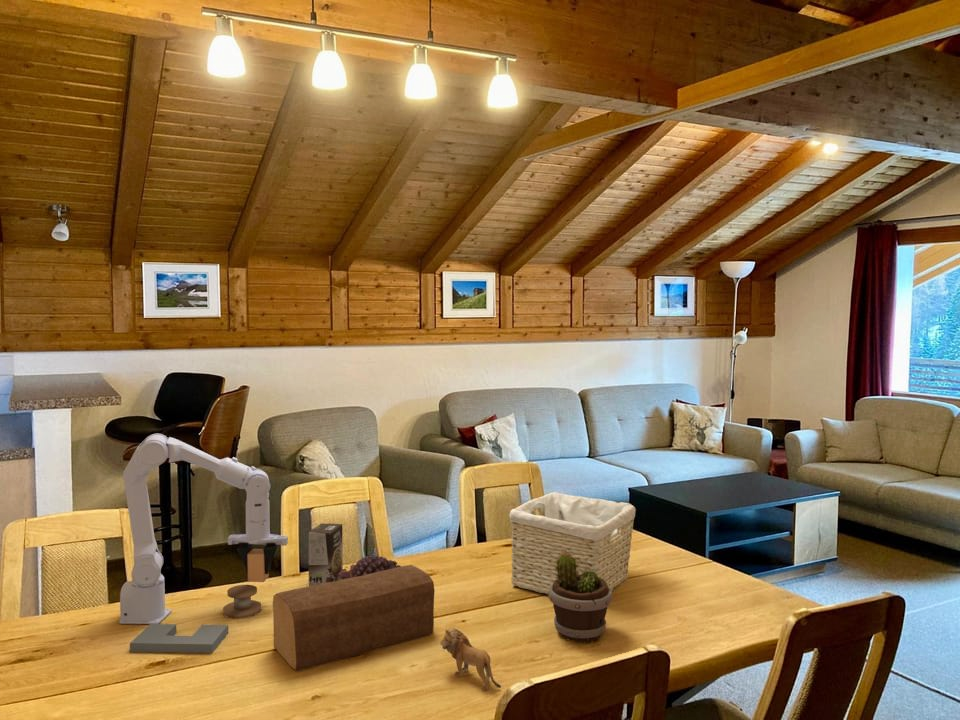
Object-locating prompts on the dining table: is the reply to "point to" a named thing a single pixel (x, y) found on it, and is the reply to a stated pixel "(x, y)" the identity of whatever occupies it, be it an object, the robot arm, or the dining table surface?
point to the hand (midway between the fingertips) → (258, 572)
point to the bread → (352, 616)
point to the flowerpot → (579, 601)
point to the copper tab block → (256, 566)
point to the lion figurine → (468, 655)
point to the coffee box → (325, 553)
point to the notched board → (178, 639)
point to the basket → (570, 539)
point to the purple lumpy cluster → (368, 567)
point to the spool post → (242, 602)
